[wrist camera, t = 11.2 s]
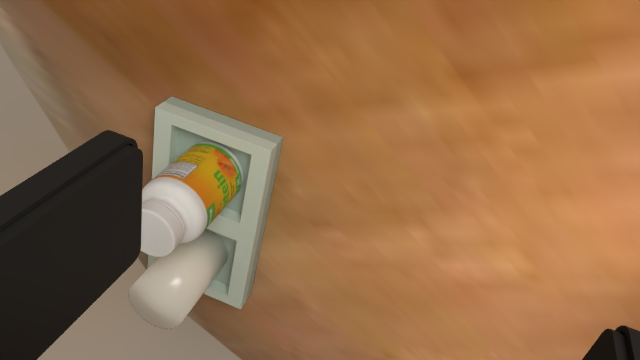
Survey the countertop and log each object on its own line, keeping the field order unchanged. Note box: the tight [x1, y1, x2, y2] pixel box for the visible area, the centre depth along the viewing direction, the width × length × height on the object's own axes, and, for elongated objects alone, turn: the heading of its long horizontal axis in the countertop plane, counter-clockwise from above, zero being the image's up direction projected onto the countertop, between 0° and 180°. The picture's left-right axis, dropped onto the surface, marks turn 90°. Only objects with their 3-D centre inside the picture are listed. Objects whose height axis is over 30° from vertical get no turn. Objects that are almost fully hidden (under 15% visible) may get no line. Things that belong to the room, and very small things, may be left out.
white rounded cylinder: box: [129, 229, 228, 329], centre depth 47 cm, size 5×5×8 cm
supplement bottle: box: [140, 141, 244, 257], centre depth 41 cm, size 5×5×10 cm
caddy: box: [148, 97, 283, 309], centre depth 48 cm, size 18×10×2 cm, turn 167°
